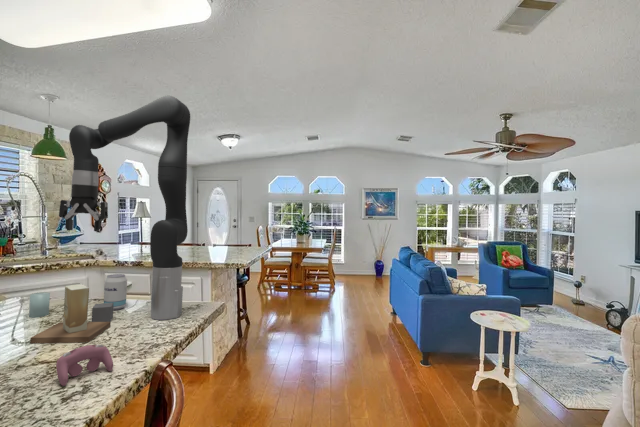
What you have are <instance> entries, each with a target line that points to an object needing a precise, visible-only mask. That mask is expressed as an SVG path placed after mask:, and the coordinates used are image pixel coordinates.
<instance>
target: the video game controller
mask: <svg viewBox="0 0 640 427" xmlns="http://www.w3.org/2000/svg"><path fill="white" fill-rule="evenodd" d="M87 360H88V362H87V363H86V367H85V368H86V370H87V371H88V372H94V371H96V370H97V369H98V368H99V366H100V364H101V363H102V364H103V365H104V367H105V368H106V370H107V371H108V372H112V371H113V369H114V361H113V360H114V359H113V358H112V355H111V353H110V351H109V348H108V347H107V346H106V345H105V346H104V345H103V344H88V345H83V346H81V347H76V348H74V349H71V350H70V351H68V352H64V354H63V355H61V356H60V357H58V359H57V361H56V363H55V365H56V367H55V368H56V374H57V378H58V379H57V380H58V382H59V384H60V385H61V386H63V387H65V386H67V385H68V381H69V376H70V377H72V378H73V377H77V376H79V375H80V374H81V373H82V372H83V366H82V365H81V364H80V362H83V361H87Z"/></svg>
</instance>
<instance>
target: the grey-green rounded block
mask: <svg viewBox="0 0 640 427" xmlns="http://www.w3.org/2000/svg"><path fill="white" fill-rule="evenodd" d="M50 301H51V292H45V291H43V292H34V293H31V294H29V305H28V306H29V307H28V308H29V309H28V317H29V318H34V319H35V318H42V317H47V316H49V315H50Z"/></svg>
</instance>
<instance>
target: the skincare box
mask: <svg viewBox="0 0 640 427" xmlns="http://www.w3.org/2000/svg"><path fill="white" fill-rule="evenodd" d="M89 295H90V287H89V286H87V285H85V284H83V283H77V284H70V285H65V286H64V301H63V319H62V322H63V328H64V330H66V331H67V332H68V333H73V332H78V331H83V330H87V322H88V314H89V313H88V312H89Z"/></svg>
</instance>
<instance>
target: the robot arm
mask: <svg viewBox="0 0 640 427" xmlns="http://www.w3.org/2000/svg"><path fill="white" fill-rule="evenodd" d="M190 112H191V111H190V109H189V107H188V106H187V104H185V103H184V102H182V101H181V100H180V99H178V98H176V97H175V96H172V95H165V96H161V97H159V98H157V99H155V100H153V101H151V102H149V103H148V104H147V103H146V105H143V106H141V107H139V108H138V109H137V108H136V109H134V110H132V111H130V112H128V113H125V114H123V115H119V116H116V117H112V118H110V119H107V120H104V121H101V122H100V123H98V127H97V128H91V127H89V126H86V125H83V124H77V125H75V126H73V127H72V128H71V129H70V131H69V135H68V139H69V140H68V141H69V145H70V149H71V153H72V156H73V171H72V175H71V192H70V193H71V194H70V197H71V200H67V199H61V200H60V203H59V212H58V217H59V218H62V219H64V220H65V222H64V224H65V226H64V228H65V229H66V230H67V231H73V229H74V219H73V218H74V217H75V216H76V215H78V214H89V215H90V216H92V217H93V219H94V223H93V232H99V231H100V230H101V229H102V221H103V220H106V219H108V218H109V214H108V213H109V211H108V210H109V209H108V208H109V205H108V202H107V201H98V199H99V181H100V180H99V165H100V164H99V158H98V156H96V155H94V154H93V152H92V150H98V149H103V148H104V147H106V146H108V145H110V144H111V143H113V142H114V141H118V140H121V139H125V138H128V137H130V136H133V135H135V134H136V133H137V132H139V131H140V130H141V129H143V128H145V127H146V126H149V125H151V124H157V123H158V124H159V123H164V124H166V129H167V131H166V137H167V138H166V143H165V145H164V148H163V150H162V152H161V154H160V156H159V159H158V164H157V183H158V187H159V190H160V193H161V195H162V198H163V201H164V204H165V217H164V218H165V219H161V220H158V221H156V222H155V223H154V225H153V226H152V227H151V230H150V237H149V238H150V242H149V244H150V258H151V261H152V273H151V274H152V276H151V292H150V293H151V295H150V318H151V319H152V320H158V321H160V320H161V321H162V320H163V321H164V320H172V319H177V318H179V317H180V316H181V314H182V313H183V291H184V286H182V279H183V276H182V275H183V258H182V257H181V256H179V254H178V245H181V244H183V243H184V242H185V241H186V240H187V236H188V219H187V216H188V215H187V180H188V177H187V176H188V140H189V139H188V138H189V132H190V124H191V113H190ZM70 206H71V207H72V208H71V209H70V210H69V207H70ZM97 207H98V208H99V209H100V211H98V210H97Z"/></svg>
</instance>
